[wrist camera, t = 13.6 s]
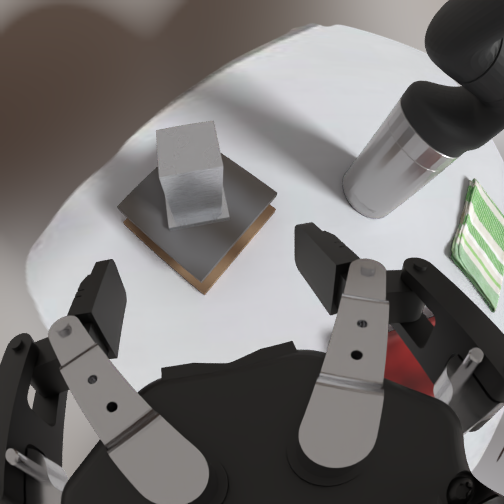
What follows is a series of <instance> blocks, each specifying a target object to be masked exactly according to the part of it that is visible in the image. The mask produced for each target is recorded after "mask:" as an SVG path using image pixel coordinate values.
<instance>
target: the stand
mask: <svg viewBox="0 0 504 504" xmlns="http://www.w3.org/2000/svg"><path fill="white" fill-rule="evenodd" d="M221 158H222V162H223V188H224V193H225V198H226V203H227V207H228V212H229V217H230V218H229V220H227V221H221V222H215V223H210V224H204V225H199V226H193V227H188V228H183V229H177V230H172V231H170V230H169V226H168V217H167V209H166V200H165V193H164V190H163V188H162V185H161V182H160V179H159V171H158V167H157V168H156V169H155V170H154V171H152V172H151V173H150V174H149V175H148V176H147V177H146V178H145V179H144V180H143V181H142V182H141V183H140V184H139V185H138V186H137V187H136V188H135V189H134V190H133V191H132V192H131V193H130V194H129V195H128V196H127V197H126V198H125V199H124V200H123V201H122V202H121V203H120V204H119V205H118V206H117V208H118V209H119V210H120V211H121V212H122V213H123V214H124V215H125V216H126V217H127V219H126V220H125V221H124V222H123V223H124V224H125V225H126V226H127V227H128V228H129V229H130V230H131V231H132V232H133V233H134V234H135V235H136V236H137V237H138V238H140V239H141V240H142V241H143V242H144V243H145V244H146V245H147V246H148V247H149V248H150V249H152V250H153V251H154V252H155V253H156V254H157V255H158V256H159V257H160V258H162V259H163V260H164V261H165V262H166V263H167V264H168V265H170V266H171V267H172V268H173V269H174V270H175V271H176V272H178V273H179V274H180V275H181V276H182V277H183V278H185V279H186V280H187V281H188V282H189V283H190V284H192V285H193V286H194V287H195V288H196V289H198V290H199V291H200V292H201V293H202V294H204V295H205V294H206V293H207V292H208V291H209V289H210V288H211V287H212V286H213V285H214V283H215V282H216V281H217V280H218V279H219V277H220V276H221V275H222V274H223V273H224V272H225V270H226V269H227V268H228V267H229V266H230V264H231V263H232V262H233V261H234V260H235V258H236V257H237V256H238V255H239V254H240V252H241V251H242V250H243V249H244V248H245V247H246V245H247V244H248V243H249V242H250V241H251V239H252V238H253V237H254V236H255V235H256V234H257V232H258V231H259V230H260V229H261V228H262V226H263V225H264V224H265V223H266V222H267V221H268V219H269V218H270V217H271V216H272V215H273V213H274V212H275V210H276V209H275V208H274V207H272V206H271V205H270V203H271V202H272V201H273V200H274V198H275V197H276V195H277V192H275V191H274V190H273V189H271V188H270V187H269V186H267V185H266V184H264V183H263V182H262V181H260V180H259V179H257V178H256V177H255V176H253V175H252V174H250V173H249V172H248V171H246V170H245V169H243V168H242V167H241V166H239V165H238V164H236V163H235V162H233V161H232V160H230V159H229V158H227V157H226V156H225V155H223V154H222V153H221Z"/></svg>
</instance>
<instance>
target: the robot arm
mask: <svg viewBox="0 0 504 504" xmlns="http://www.w3.org/2000/svg"><path fill="white" fill-rule="evenodd" d="M425 48H426V51H427V54H428V56H429V57H430V59H431V60H432V61H433V62H434V63H435V64H436V65H437V66H438V67H439V68H440V69H441V70H442V71H443V72H445V73H446V74H447V75H448V76H450V77H451V78H452V79H454V80H455V81H456V82H458V83H459V84H460V85H462V86H460V87H451V86H444V85H439V84H436V83H431V82H428V81H416V82H414V83H412V84H411V85H410V86H409V87H408V88H407V90H406V91H405V93H404V94H403V95H402V97H401V98H400V100H399V101H398V102H397V104H396V105H395V107H394V108H393V109H392V111H391V112H390V114H389V115H388V117H387V118H386V119H385V121H384V122H383V123H382V125H381V126H380V128H379V129H378V130H377V132H376V133H375V134H374V136H373V137H372V138H371V140H370V141H369V143H368V144H367V145H366V147H365V148H364V149H363V151H362V152H361V153H360V155H359V156H358V157H357V159H356V160H355V161H354V163H353V164H352V165H351V167H350V168H349V169H348V171H347V172H346V173H345V175H344V178H343V190H344V193H345V196H346V198H347V200H348V201H349V203H350V204H351V205H352V207H354V208H355V209H356V210H357V211H358V212H359V213H361V214H362V215H364V216H366V217H369V218H373V219H379V218H383V217H385V216H387V215H388V214H389V213H391V212H392V211H393V210H395V209H396V208H397V207H398V206H400V205H401V204H402V203H404V202H405V201H406V200H408V199H409V198H410V197H411V196H413V195H414V194H415V193H416V192H418V191H419V190H420V189H421V188H422V187H424V186H425V185H426V184H427V183H429V182H430V181H431V180H432V179H433V178H435V177H436V176H437V175H438V174H439V173H441V172H442V171H443V170H444V169H445V168H446V167H448V166H449V165H450V164H451V163H452V162H453V161H455V160H456V159H457V158H458V157H459V156H461V155H462V154H463V153H464V152H466V151H469V150H474V149H477V148H479V147H481V146H482V145H484V144H485V143H487V142H488V141H489V140H490V139H492V138H493V137H494V136H496V135H497V134H498V133H499V132H501V131H502V130H503V129H504V0H449V1H448V2H446V3H445V4H444V5H443V6H442V7H441V9H440V10H439V11H438V12H437V13H436V15H435V16H434V17H433V19H432V21H431V22H430V24H429V26H428V29H427V31H426V36H425ZM295 262H296V266H297V268H298V270H299V271H300V273H301V274H302V276H303V277H304V279H305V280H306V281H307V283H308V284H309V286H310V287H311V289H312V290H313V291H314V293H315V294H316V296H317V297H318V299H319V300H320V301H321V303H322V304H323V306H324V307H325V309H326V310H327V312H328V313H329V315H334V314H337V317H336V321H335V324H334V328H333V332H332V335H331V339H330V342H329V346H328V349H327V353H324V352H319V351H314V350H297V349H296V347H295V345H294V343H293V341H290V342H286V343H282V344H279V345H275V346H271V347H267V348H263V349H260V350H257V351H255V352H253V353H251V354H249V355H247V356H244V357H242V358H240V359H238V360H235V361H233V362H231V363H190V364H184V365H177V366H171V367H164V368H161V372H162V378H160V379H158V380H156V381H154V382H151V383H150V384H148V385H147V386H145V387H144V388H142V389H141V390H140V391H139V392H138V393H137V392H136V391H135V390H134V388H133V387H132V386H131V385H130V384H129V383H128V382H127V380H126V379H125V378H124V377H123V376H122V375H121V373H120V372H119V371H118V370H117V369H116V367H115V366H114V365H113V364H112V362H111V361H110V360H109V359H114V358H117V357H118V350H119V343H120V336H121V330H122V324H123V318H124V313H125V307H126V302H127V299H126V292H125V289H124V286H123V283H122V281H121V278H120V275H119V273H118V270H117V267H116V264H115V262H114V260H113V259H109V260H104V261H99V262H96V263H95V266H94V268H93V270H92V272H91V275H88V276H87V277H86V278H85V279H84V280H83V281H82V282H81V284H80V286H79V288H78V292H77V293H76V295H75V298H74V300H73V302H72V305H71V307H70V310H69V312H68V315H67V316H65V317H62V318H60V319H59V320H57V321H56V322H55V323H54V324H53V325H52V326H51V328H50V329H49V332H48V337H47V338H45V339H42V340H39V341H37V342H34V340H33V339H32V337H31V336H30V335H29V334H27V333H22V334H19V335H17V336H16V337H14V338H13V339H12V340H11V341H10V343H9V344H8V346H7V348H6V351H5V353H4V356H3V359H2V362H1V364H0V504H504V496H503V495H501V494H499V493H497V492H495V491H493V490H491V489H489V488H488V487H486V486H485V485H483V484H482V483H481V482H479V481H478V480H477V479H476V478H475V477H474V476H473V475H472V473H471V471H470V469H469V466H468V463H467V459H466V455H465V449H464V438H463V435H464V434H466V433H467V432H468V431H469V432H473V431H477V430H478V429H480V428H481V427H482V426H483V425H484V424H485V423H486V422H488V421H489V420H490V419H491V418H492V417H493V416H494V415H495V414H496V413H497V412H498V411H499V410H500V409H501V408H502V407H503V406H504V334H503V333H502V332H501V331H500V330H499V328H498V327H497V326H496V325H495V324H494V323H493V322H492V321H491V320H490V319H489V318H488V317H487V316H486V315H485V314H484V313H483V312H482V311H481V310H480V309H479V308H478V306H477V305H476V304H474V303H473V302H472V301H471V300H470V299H469V298H468V297H467V296H466V295H465V294H464V293H463V292H462V291H461V290H460V289H459V288H458V287H457V286H456V285H455V284H454V283H453V282H451V281H450V280H449V279H448V278H447V277H446V276H445V275H444V274H443V273H441V272H440V271H439V270H438V269H437V268H436V267H435V266H433V265H432V264H431V263H430V262H428V261H426V260H424V259H421V258H408V259H406V260H405V261H404V264H403V268H402V270H386V269H385V267H384V266H383V265H382V264H381V263H379V262H378V261H375V260H372V259H360V258H359V257H358V256H357V255H356V254H355V253H354V252H353V251H351V250H350V249H349V248H348V247H347V246H346V245H345V244H344V243H343V242H341V241H340V240H339V239H338V238H337V237H336V236H335V235H333V234H331V233H329V232H326V231H322V230H321V229H319V228H318V227H317V226H316V225H315V224H314V223H313V222H311V223H305V224H299V225H296V226H295ZM425 305H426V306H427V307H428V308H429V309H430V310H431V311H432V313H433V314H434V317H435V326H433V324H432V323H431V322H430V321H429V320H428V319H427V317H426V316H425V315H424V314H423V313H422V311H423V308H424V306H425ZM388 324H391V325H392V327H393V328H394V329H395V331H396V332H397V333H398V335H399V336H400V337H401V339H402V340H403V342H404V343H405V344H406V346H407V347H408V348H409V350H410V351H411V353H412V354H413V355H414V357H415V358H416V360H417V361H418V363H419V364H420V365H421V367H422V368H423V370H424V371H425V373H426V374H427V376H428V377H429V378H430V380H431V381H432V383H433V384H434V389H433V391H434V396H435V397H432V396H429V395H427V394H424V393H421V392H419V391H416V390H413V389H411V388H408V387H406V386H403V385H401V384H398V383H396V382H393V381H391V380H388V379H386V378H384V371H385V361H386V351H387V338H388ZM30 385H31V386H33V388H34V389H35V390H36V393H35V398H34V403H33V408H32V409H31V408H30V406H29V404H28V400H27V395H28V390H29V386H30ZM68 390H70V391H71V393H72V394H73V396H74V398H75V400H76V402H77V403H78V405H79V407H80V408H81V410H82V412H83V413H84V415H85V417H86V418H87V420H88V421H89V423H90V424H91V426H92V427H93V429H94V431H95V432H96V433H97V435H98V436H99V438H100V440H99V442H98V443H97V444H96V445H95V447H94V448H93V449H92V450H91V452H90V453H89V454H88V456H87V457H86V458H85V459H84V461H83V462H82V463H81V464H80V466H79V467H78V468H77V470H76V471H75V472H74V473H73V475H72V476H71V477H70V479H69V480H68V478H67V475H66V473H65V471H64V470H63V468H62V446H63V429H64V417H65V408H66V400H67V392H68Z"/></svg>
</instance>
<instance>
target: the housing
mask: <svg viewBox="0 0 504 504" xmlns="http://www.w3.org/2000/svg"><path fill="white" fill-rule="evenodd" d="M156 137H157V156H158V171H159V179H160V182H161V185H162V188H163V190H164V193H165V200H166V209H167V217H168V226H169V230H170V231H172V230H177V229H183V228H188V227H193V226H199V225H204V224H210V223H215V222H221V221H227V220H229V218H230V217H229V212H228V207H227V203H226V198H225V193H224V188H223V162H222V158H221V153H220V148H219V144H218V139H217V134H216V130H215V125H214V121H208V122H201V123H194V124H188V125H182V126H176V127H171V128H165V129H160V130H156Z"/></svg>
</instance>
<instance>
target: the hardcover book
mask: <svg viewBox="0 0 504 504" xmlns="http://www.w3.org/2000/svg"><path fill="white" fill-rule="evenodd" d="M428 320H429V321H430V322H431V323H432V324H433V326H435V317H434V316H433V317H431V318H428ZM384 378H386V379H388V380H391V381H393V382H396V383H398V384H401V385H403V386H406V387H408V388H411V389H413V390H416V391H419V392H421V393H424V394H427V395H429V396H432V397H435V396H434V391H433V389H434V384H433V383H432V381H431V380H430V378H429V377H428V376H427V374H426V373H425V371H424V370H423V368H422V367H421V365H420V364H419V363H418V361H417V360H416V358H415V357H414V355H413V354H412V353H411V351H410V350H409V348H408V347H407V346H406V344H405V343H404V342H403V340H402V339H401V337H400V336H399V335H398V333H397V332H396V331H395V330H393V331H390V332H388V338H387V351H386V361H385V371H384Z"/></svg>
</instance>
